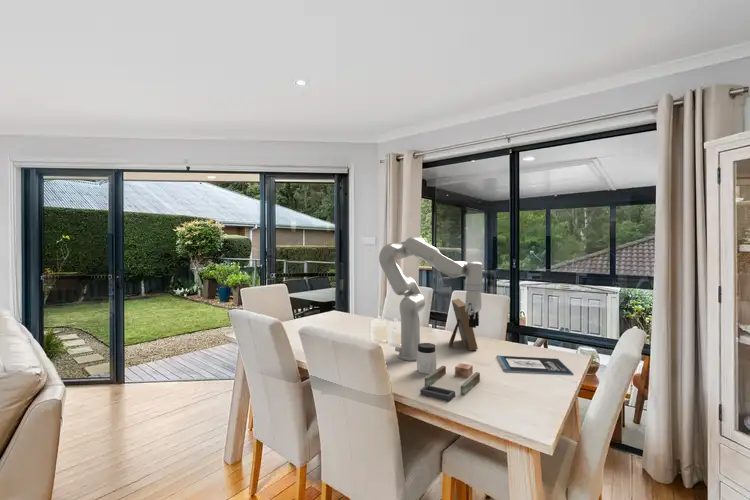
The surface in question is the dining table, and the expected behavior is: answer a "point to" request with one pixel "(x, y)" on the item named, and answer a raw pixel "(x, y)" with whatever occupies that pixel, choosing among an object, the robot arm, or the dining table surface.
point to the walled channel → (442, 371)
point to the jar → (426, 358)
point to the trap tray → (437, 393)
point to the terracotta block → (464, 370)
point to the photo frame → (463, 326)
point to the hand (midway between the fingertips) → (473, 326)
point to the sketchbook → (533, 365)
